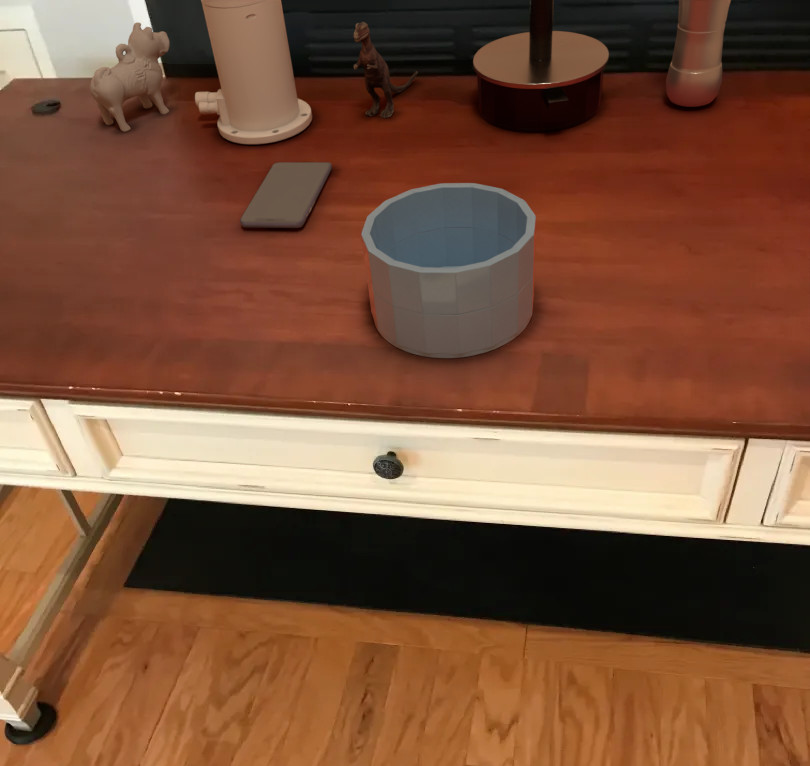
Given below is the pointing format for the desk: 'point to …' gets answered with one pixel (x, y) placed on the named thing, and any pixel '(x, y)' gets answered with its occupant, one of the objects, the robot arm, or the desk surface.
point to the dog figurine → (132, 75)
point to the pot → (450, 268)
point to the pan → (539, 105)
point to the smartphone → (286, 195)
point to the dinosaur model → (376, 72)
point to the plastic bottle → (697, 53)
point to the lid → (541, 55)
